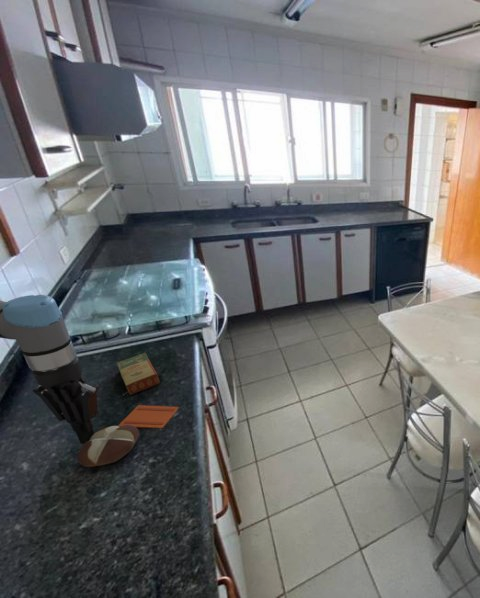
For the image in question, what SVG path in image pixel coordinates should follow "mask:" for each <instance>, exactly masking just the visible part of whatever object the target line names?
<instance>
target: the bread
mask: <svg viewBox="0 0 480 598" xmlns="http://www.w3.org/2000/svg"><path fill="white" fill-rule="evenodd" d="M139 436H140V431H139V428H136V427H135V426H132V425H123V426H121V427H119V426H118V425H110V426H107V427H104V428H101V429H99V430H97V431H96V432H94V434H93V435H92V437H91V438H90V441H88V442H86V443H84V444H81V447H80V449H79V451H78V453H77V461H78V463H79V464H80V465H81V466H82V467H84V468H94V467H99V466H106V465H109V464H114V463H117V462H118V461H120V460H122V458H124V457H126V456H127V455H128V454H129V453H130V452H131V451H132V449H133V448H134V446H135V445H136V442H137V441H138V439H139Z"/></svg>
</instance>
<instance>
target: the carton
mask: <svg viewBox="0 0 480 598" xmlns="http://www.w3.org/2000/svg"><path fill="white" fill-rule="evenodd" d="M116 366H117V368H118V372H119V373H120V377H121V378H122V381H123V383H124V385H125V388H126V390H127V392H128V394H129V396H131V395H134V394H137V393H139V392H142V391H145V390H147V389H149V388H152V387H154V386H157V385H159V384H160V383H161V381H160V379H159V375H158V372H157V371H156V370H155V367H154V365H152V363H151V360H150V359H149V357H148V355H147V353H146V352H143V353H140V354H137V355H135V356H132V357H129V358H125V359H123V360H120V361H117V362H116Z"/></svg>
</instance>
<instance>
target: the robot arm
mask: <svg viewBox="0 0 480 598" xmlns="http://www.w3.org/2000/svg"><path fill="white" fill-rule="evenodd" d="M0 339H6V340H13V341H14V340H15V341H16V343H17V344H18V346H19V349H20V351H21V353H22V355H23V357H24V360H25V362H26V364H27V366H28V368H29V369H30V370H31V374H32V376H33V377H34V380H35V382H36V384H37V385H38V386H36V387H34V389H32V392H33V393H34V394H35V395H36V396H37V397H39V398H40V399H41V400H42V401H43V403H44V404H45V405H46V406H47V407H48V409H49V411H50V412H51V413H52V414H53V415H54V417H55V418H56V419H57V420H58V421H60V422H63V421H66V422H67V424H70V427H71V429H72V431H73V432H74V433H75V435H76V436H77V439H78V441H79V443H80V444H81V445H83V444H84V443H86V442H88V441H90V438H91V437H92V435H93V434H94V433H95V430H94V429H93V428H94V425H93V422H92V420H93V419H94V418H95V417H96V416H98V414H99V412H98V395H97V393H98V391H99V389H100V387H99V385H97V384H94V385H93V386H91V385H88V384H87V381H86V380H85V379H84V378H83V377H82V373H83V366H82V364H81V361H80V359H79V357H78V355H77V351H76V348H75V346H74V344H73V342H72V339H71V336H70V333H69V330H68V328H67V325H66V323H65V320H64V317H63V313H62V311H61V309H60V308H59V306H58V304H57V302H56V300H55V299H54V298H53V296H52V297H51V296H50V295H46V294H37V295H35V294H30V295H23V296H19V297H15V298H12V299H10V300H8V301H4V300H0Z"/></svg>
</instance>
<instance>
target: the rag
mask: <svg viewBox="0 0 480 598" xmlns="http://www.w3.org/2000/svg"><path fill="white" fill-rule="evenodd" d="M178 410H179V406H167V405H165V406H163V405H144V404H143V405H142V404H141V405H139V404H138V405H137V406H136V407H135V408H133V410H132V411H131V412H130V413H129V414H128V415H127V416H126V417H125V418H124V419H123V420H122V421H121V422H120V423H119V424H118V425H117V426H119V427H121V426H123V425H132V426H135V427H136V428H137V429H164V427H165V426H166V425H167V424H168V423H169V421H170V420H171V419H172V417H173V416H174V415H175V414H176V412H177V411H178Z"/></svg>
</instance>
